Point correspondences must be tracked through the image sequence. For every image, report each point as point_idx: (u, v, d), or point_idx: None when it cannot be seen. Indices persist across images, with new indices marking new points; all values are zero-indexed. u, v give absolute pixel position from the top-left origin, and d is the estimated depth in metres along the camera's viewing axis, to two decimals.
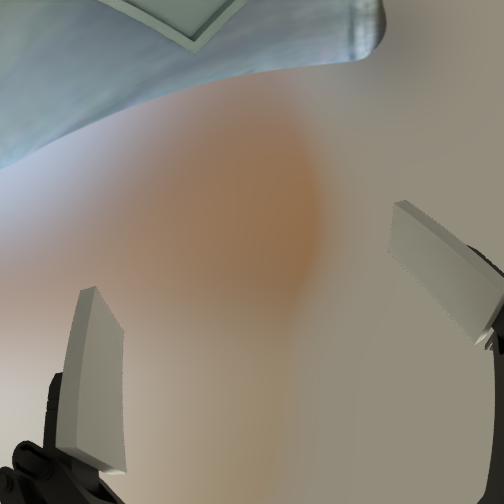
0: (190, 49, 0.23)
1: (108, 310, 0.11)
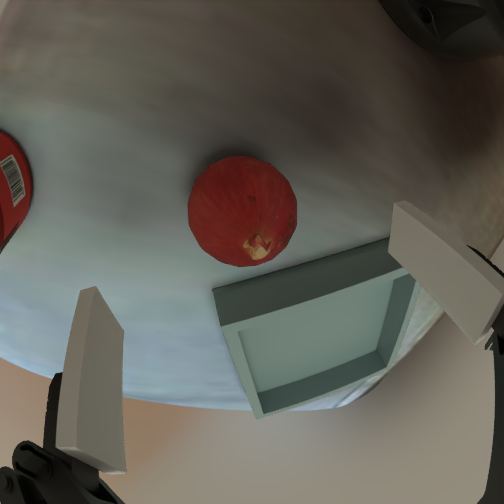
0: (257, 416, 0.30)
1: (108, 310, 0.11)
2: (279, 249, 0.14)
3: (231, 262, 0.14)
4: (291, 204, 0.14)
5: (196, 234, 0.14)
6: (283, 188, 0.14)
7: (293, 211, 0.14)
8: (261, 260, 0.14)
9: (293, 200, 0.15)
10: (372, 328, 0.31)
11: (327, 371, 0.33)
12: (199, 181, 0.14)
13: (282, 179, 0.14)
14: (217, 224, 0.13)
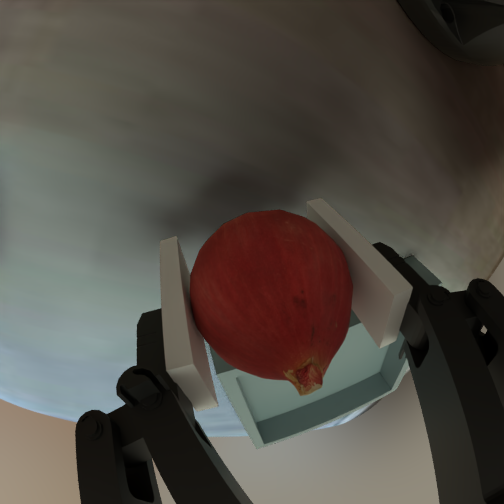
0: (257, 447, 0.27)
1: (184, 260, 0.13)
2: None
3: (260, 377, 0.09)
4: (350, 292, 0.09)
5: (206, 339, 0.09)
6: (341, 273, 0.09)
7: (351, 301, 0.09)
8: None
9: (350, 283, 0.09)
10: (377, 352, 0.28)
11: (329, 397, 0.30)
12: (206, 258, 0.09)
13: (337, 254, 0.09)
14: (242, 341, 0.08)
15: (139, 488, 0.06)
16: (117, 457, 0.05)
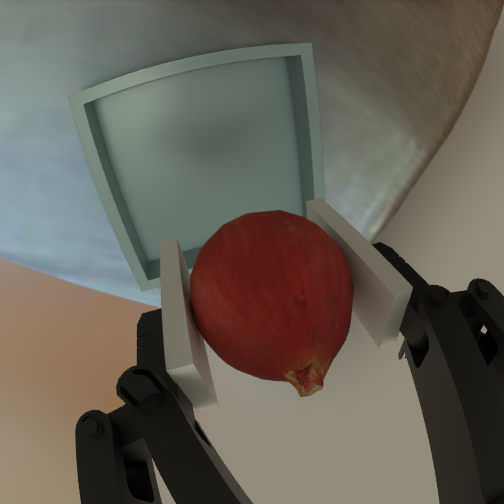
0: (140, 284, 0.25)
1: (184, 260, 0.13)
2: None
3: (260, 378, 0.09)
4: (351, 293, 0.09)
5: (206, 340, 0.09)
6: (342, 273, 0.09)
7: (352, 302, 0.09)
8: None
9: (351, 284, 0.09)
10: (284, 172, 0.26)
11: None
12: (207, 259, 0.09)
13: (338, 254, 0.09)
14: (243, 342, 0.08)
15: (139, 488, 0.06)
16: (117, 457, 0.05)
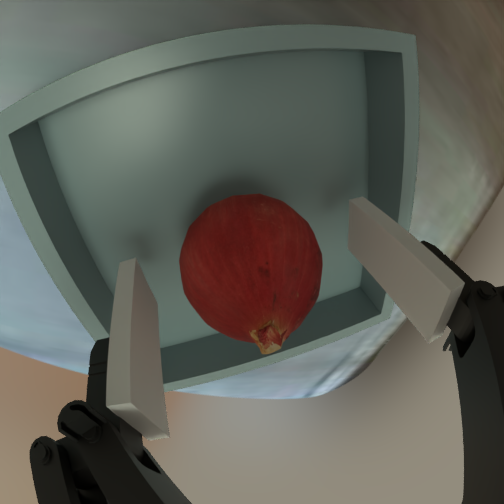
0: None
1: (146, 282, 0.12)
2: (296, 328, 0.10)
3: None
4: (316, 268, 0.11)
5: (190, 301, 0.11)
6: (307, 250, 0.10)
7: (318, 277, 0.11)
8: None
9: (319, 261, 0.11)
10: (346, 230, 0.18)
11: None
12: (193, 232, 0.11)
13: (306, 234, 0.11)
14: (216, 302, 0.10)
15: None
16: (67, 478, 0.04)
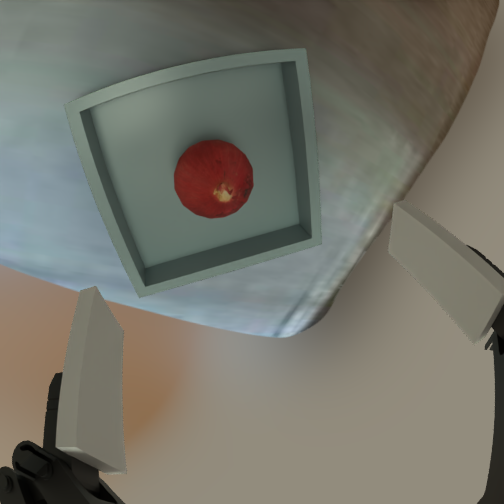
0: (137, 291, 0.25)
1: (108, 310, 0.11)
2: (239, 198, 0.19)
3: (206, 211, 0.20)
4: (247, 168, 0.20)
5: (180, 193, 0.20)
6: (240, 157, 0.19)
7: (249, 173, 0.20)
8: (227, 207, 0.19)
9: (249, 166, 0.20)
10: (279, 177, 0.27)
11: (232, 243, 0.29)
12: (182, 156, 0.20)
13: (240, 152, 0.20)
14: (195, 181, 0.18)
15: None
16: (28, 503, 0.03)
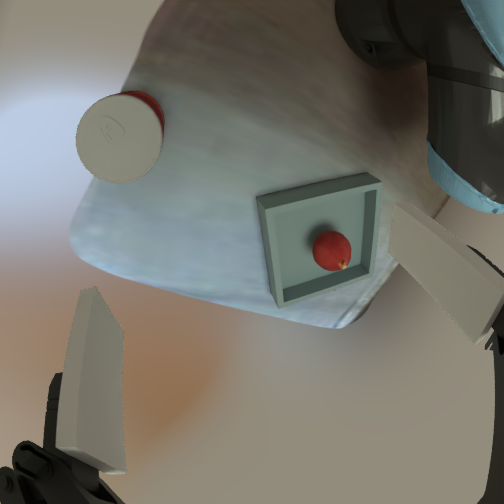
0: (279, 305, 0.47)
1: (108, 310, 0.11)
2: None
3: (331, 269, 0.41)
4: (350, 249, 0.41)
5: (319, 260, 0.41)
6: (349, 245, 0.41)
7: None
8: (341, 269, 0.41)
9: None
10: (355, 241, 0.48)
11: (326, 275, 0.50)
12: (321, 241, 0.41)
13: (348, 241, 0.41)
14: (330, 257, 0.40)
15: None
16: (28, 503, 0.03)
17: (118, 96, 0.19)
